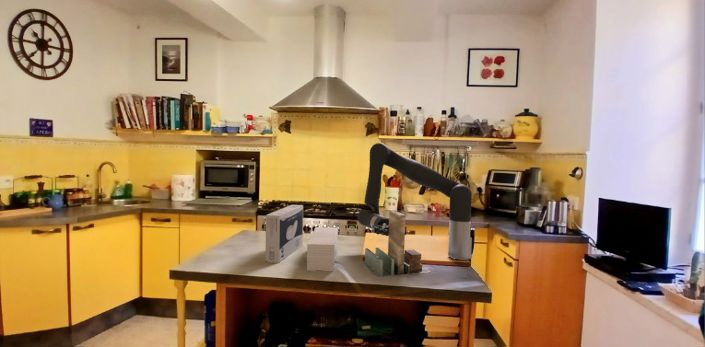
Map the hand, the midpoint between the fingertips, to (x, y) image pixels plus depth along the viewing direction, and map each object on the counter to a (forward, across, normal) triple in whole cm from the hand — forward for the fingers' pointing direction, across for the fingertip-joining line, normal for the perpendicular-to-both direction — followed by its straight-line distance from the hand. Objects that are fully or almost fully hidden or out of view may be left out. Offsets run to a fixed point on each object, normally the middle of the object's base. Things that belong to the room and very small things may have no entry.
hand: (396, 233), depth 146 cm
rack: (-1, +1, +16) cm, 16 cm away
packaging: (-36, -39, +16) cm, 56 cm away
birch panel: (0, 0, +14) cm, 14 cm away
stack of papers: (-23, -24, +16) cm, 37 cm away
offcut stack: (0, +7, +14) cm, 16 cm away
